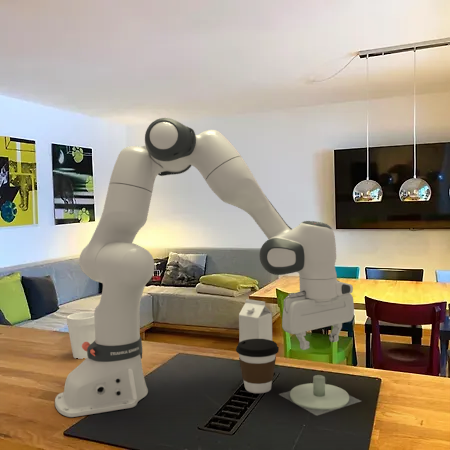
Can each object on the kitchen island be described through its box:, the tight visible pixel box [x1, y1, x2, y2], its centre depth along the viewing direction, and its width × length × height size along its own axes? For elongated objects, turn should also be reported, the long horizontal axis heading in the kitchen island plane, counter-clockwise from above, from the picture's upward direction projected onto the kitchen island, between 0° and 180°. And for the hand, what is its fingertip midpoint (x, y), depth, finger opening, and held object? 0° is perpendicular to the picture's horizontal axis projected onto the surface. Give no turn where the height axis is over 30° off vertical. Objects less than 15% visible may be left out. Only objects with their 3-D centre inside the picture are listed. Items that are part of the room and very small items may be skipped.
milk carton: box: [238, 298, 273, 343], centre depth 140 cm, size 7×7×19 cm
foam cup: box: [66, 311, 95, 360], centre depth 151 cm, size 10×9×13 cm
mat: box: [278, 390, 362, 417], centre depth 114 cm, size 14×14×1 cm
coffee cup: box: [235, 339, 280, 394], centre depth 120 cm, size 11×11×12 cm
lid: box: [289, 374, 350, 411], centre depth 113 cm, size 14×14×5 cm
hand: (319, 345), depth 114 cm, fingers open, 8 cm apart
